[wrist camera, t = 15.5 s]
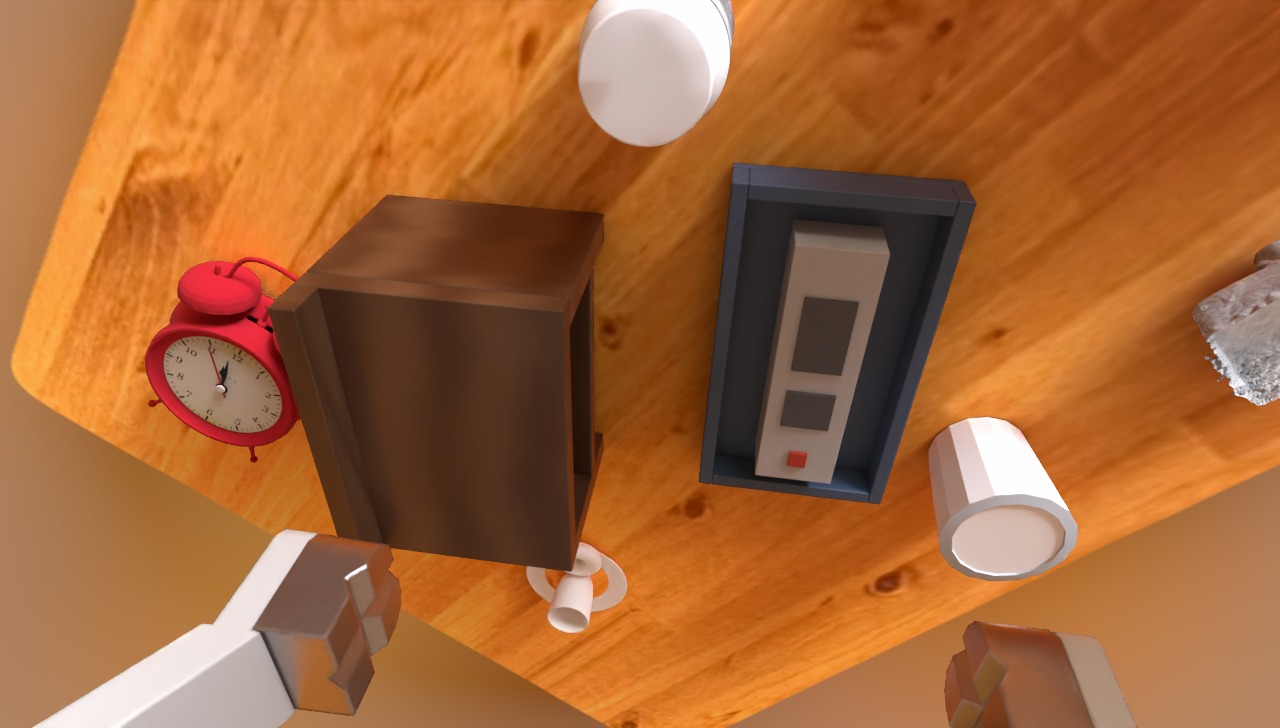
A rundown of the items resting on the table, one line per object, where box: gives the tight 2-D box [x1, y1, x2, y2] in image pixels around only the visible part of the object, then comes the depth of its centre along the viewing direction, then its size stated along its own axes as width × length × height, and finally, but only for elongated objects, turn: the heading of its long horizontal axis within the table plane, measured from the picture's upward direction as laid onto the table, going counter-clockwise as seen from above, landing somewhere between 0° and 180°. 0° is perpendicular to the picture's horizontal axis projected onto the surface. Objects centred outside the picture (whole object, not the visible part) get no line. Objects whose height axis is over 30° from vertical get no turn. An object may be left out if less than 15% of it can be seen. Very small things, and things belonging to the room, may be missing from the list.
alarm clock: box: [145, 257, 301, 463], centre depth 45 cm, size 10×6×15 cm
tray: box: [699, 163, 977, 504], centre depth 40 cm, size 11×20×3 cm, turn 178°
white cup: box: [928, 417, 1078, 581], centre depth 42 cm, size 7×7×7 cm
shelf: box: [267, 195, 604, 572], centre depth 39 cm, size 12×17×12 cm
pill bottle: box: [578, 0, 734, 147], centre depth 29 cm, size 6×6×10 cm
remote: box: [755, 219, 890, 484], centre depth 40 cm, size 15×4×3 cm, turn 178°
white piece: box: [526, 542, 627, 633], centre depth 55 cm, size 9×8×4 cm
